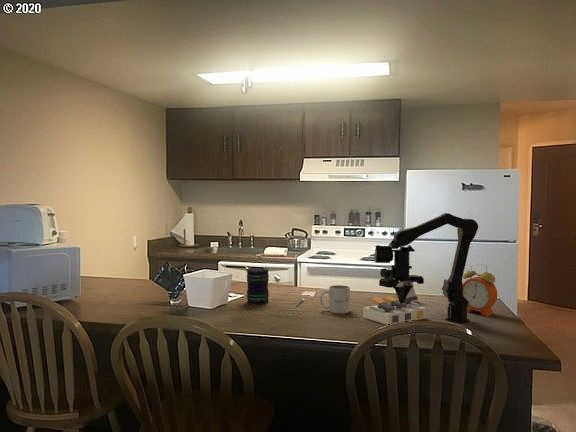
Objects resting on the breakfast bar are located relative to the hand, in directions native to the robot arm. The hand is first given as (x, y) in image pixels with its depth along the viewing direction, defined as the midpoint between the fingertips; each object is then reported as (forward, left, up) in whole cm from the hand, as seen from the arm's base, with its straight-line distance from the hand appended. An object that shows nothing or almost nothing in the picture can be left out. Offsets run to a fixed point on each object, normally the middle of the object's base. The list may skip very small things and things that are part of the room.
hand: (401, 303), depth 183 cm
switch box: (+4, 0, -6) cm, 7 cm away
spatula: (+51, +11, -7) cm, 53 cm away
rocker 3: (+3, -7, -2) cm, 7 cm away
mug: (+26, +12, -7) cm, 29 cm away
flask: (+22, -28, -7) cm, 36 cm away
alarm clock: (-8, -36, -7) cm, 37 cm away
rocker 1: (+4, +6, -2) cm, 8 cm away
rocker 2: (+4, 0, -2) cm, 4 cm away
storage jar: (+57, +32, -7) cm, 66 cm away
